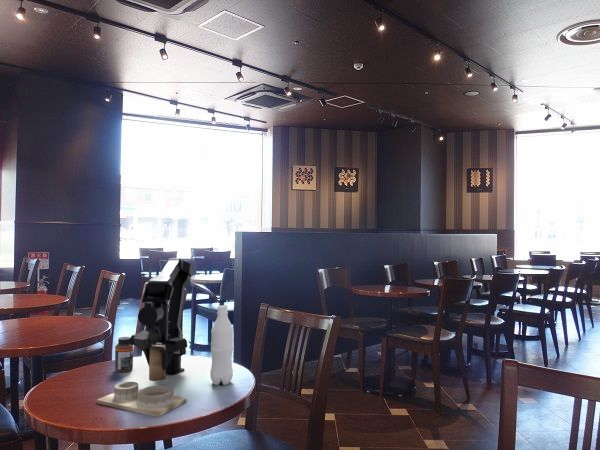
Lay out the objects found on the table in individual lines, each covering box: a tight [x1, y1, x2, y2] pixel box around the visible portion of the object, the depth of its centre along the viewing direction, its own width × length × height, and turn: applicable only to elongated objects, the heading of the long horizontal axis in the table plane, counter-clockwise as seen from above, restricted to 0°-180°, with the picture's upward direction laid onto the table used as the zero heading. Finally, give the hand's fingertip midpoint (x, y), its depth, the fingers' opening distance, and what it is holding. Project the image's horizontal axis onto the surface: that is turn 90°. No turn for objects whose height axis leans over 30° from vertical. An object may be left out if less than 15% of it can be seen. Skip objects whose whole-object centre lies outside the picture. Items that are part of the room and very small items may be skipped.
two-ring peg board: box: [96, 381, 187, 418], centre depth 129 cm, size 12×22×4 cm, turn 66°
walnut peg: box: [148, 344, 167, 382], centre depth 142 cm, size 5×5×10 cm
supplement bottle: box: [114, 336, 134, 373], centre depth 158 cm, size 6×6×11 cm
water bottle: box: [209, 304, 234, 386], centre depth 146 cm, size 7×7×25 cm
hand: (157, 368), depth 142 cm, fingers closed on walnut peg, 5 cm apart
